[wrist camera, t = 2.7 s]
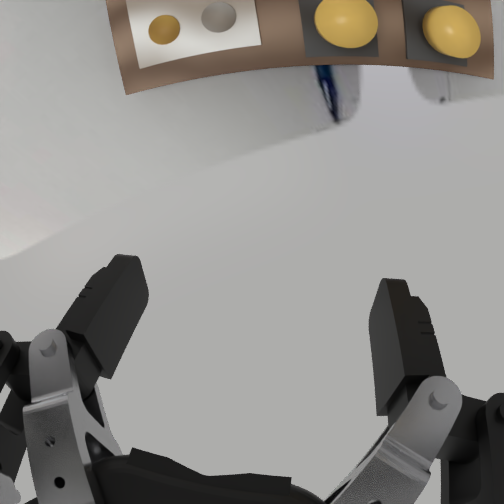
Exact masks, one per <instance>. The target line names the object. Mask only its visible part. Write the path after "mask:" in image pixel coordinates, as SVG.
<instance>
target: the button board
mask: <svg viewBox="0 0 504 504" xmlns="http://www.w3.org/2000/svg"><path fill="white" fill-rule="evenodd" d="M322 1H323V0H106V4H107V10H108V15H109V21H110V26H111V31H112V36H113V40H114V45H115V50H116V54H117V59H118V63H119V68H120V72H121V76H122V81H123V85H124V89H125V93H126V95H129V94H132V93H136V92H140V91H144V90H148V89H152V88H156V87H160V86H164V85H168V84H173V83H178V82H182V81H187V80H192V79H197V78H203V77H208V76H214V75H220V74H227V73H234V72H241V71H249V70H257V69H267V68H277V67H290V66H306V65H339V64H355V65H387V66H403V67H414V68H424V69H433V70H441V71H449V72H455V73H462V74H468V75H473V76H479V77H484V78H489V79H494V43H493V24H492V11H491V2H490V0H366V1H367V2H368V3H369V4H370V5H371V6H372V7H373V9H374V10H375V13H376V15H377V19H378V28H377V32H376V34H375V36H374V38H373V39H372V40H371V41H370V42H369V43H367V44H366V45H363V46H361V47H357V48H345V47H339V46H336V45H333V44H331V43H329V42H327V41H326V40H325V39H324V38H322V37H321V35H320V34H319V33H318V31H317V29H316V27H315V23H314V14H315V11H316V8H317V7H318V5H319V4H320V3H321V2H322ZM449 5H453V6H458V7H460V8H463V9H464V10H466V11H467V12H468V13H469V14H471V16H472V17H473V18H474V19H475V21H476V23H477V25H478V27H479V30H480V35H481V41H480V46H479V48H478V50H477V52H476V53H475V54H474V55H472V56H471V57H468V58H457V57H453V56H449V55H444V54H442V53H440V52H438V51H436V50H435V49H434V48H433V47H432V46H431V45H430V44H429V43H428V41H427V40H426V38H425V35H424V32H423V18H424V16H425V14H426V13H427V11H428V10H430V9H431V8H434V7H438V6H449Z"/></svg>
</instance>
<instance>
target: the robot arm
mask: <svg viewBox="0 0 504 504" xmlns="http://www.w3.org/2000/svg"><path fill="white" fill-rule="evenodd" d="M148 297H149V292H148V287H147V284H146V280H145V276H144V272H143V269H142V265H141V261H140V259H139V258H138V257H137V256H131V255H122V254H117V255H115V256H114V258H113V259H112V260H111V262H110V263H109V265H108V266H107V267H103V268H102V269H100V270H99V271H98V272H97V273H95V274H94V275H93V276H92V277H91V278H90V280H89V281H88V282H87V284H86V285H85V288H84V289H82V291H81V292H80V294H79V297H77V298H76V299H75V301H74V302H73V304H72V305H71V307H70V308H69V310H68V311H67V313H66V314H65V316H64V317H63V319H62V321H61V322H60V324H59V325H58V327H57V328H56V329H49V330H45V331H43V332H41V333H39V334H38V335H37V336H36V337H35V338H34V339H33V340H32V341H31V342H15V341H14V339H13V338H12V336H11V335H10V334H9V333H8V332H6V331H0V393H1V391H2V389H3V387H4V385H5V383H6V384H7V385H8V387H9V388H10V389H11V391H10V394H9V395H8V398H7V400H6V402H5V404H4V406H3V409H2V411H1V413H0V504H17V503H19V502H20V499H21V496H20V494H19V492H18V490H16V489H15V486H14V482H15V479H16V476H17V473H18V470H19V467H20V464H21V461H22V458H23V455H24V453H25V450H26V447H27V451H28V457H29V462H30V467H31V472H32V477H33V482H34V486H35V490H36V494H37V497H36V498H34V499H32V500H30V501H28V502H27V503H25V504H414V502H415V501H416V500H417V498H418V496H419V495H420V494H421V492H422V491H423V489H424V487H425V486H426V484H427V482H428V480H429V478H430V475H431V473H430V471H429V468H430V466H431V464H432V462H433V461H434V459H435V458H437V459H441V504H504V393H497V394H495V395H493V396H492V397H491V398H490V399H489V400H488V401H483V400H478V399H475V398H471V397H467V396H464V395H462V394H461V392H460V390H459V388H458V387H457V385H456V384H455V383H454V382H453V381H451V380H450V379H448V378H446V374H445V370H444V367H443V362H442V358H441V354H440V351H439V346H438V343H437V339H436V336H435V335H434V333H435V332H434V328H433V325H432V324H431V318H430V315H429V312H428V308H427V307H426V306H425V305H424V303H423V302H422V301H421V299H420V298H419V297H415V296H411V295H410V292H409V289H408V285H407V283H406V281H405V280H401V279H387V278H383V279H382V280H381V282H380V285H379V288H378V291H377V294H376V297H375V300H374V303H373V306H372V309H371V312H370V317H369V334H370V343H371V352H372V361H373V372H374V383H375V395H376V411H377V416H388V426H387V427H386V428H385V430H384V431H383V433H382V434H381V435H380V436H379V438H378V439H377V441H376V442H375V443H374V444H373V446H372V447H371V448H370V449H369V451H368V452H367V453H366V455H365V456H364V457H363V458H362V459H361V461H360V462H359V463H358V464H357V465H356V467H355V468H354V469H353V470H352V471H351V472H350V473H349V475H348V476H347V477H346V478H345V479H344V480H343V481H342V482H341V483H340V484H339V485H338V486H337V487H336V488H335V489H334V490H333V491H332V492H331V494H330V495H329V496H328V497H327V498H326V499H325V500H324V501H323V500H321V499H320V498H319V497H317V496H316V495H314V494H313V493H311V492H309V491H308V490H305V489H303V488H301V487H299V486H295V485H292V484H291V477H281V476H269V475H260V474H252V473H247V474H235V475H219V476H206V475H202V474H200V473H198V472H196V471H193V470H191V469H189V468H187V467H185V466H183V465H181V464H179V463H177V462H175V461H173V460H172V459H170V458H167V457H164V456H160V455H156V454H153V453H149V452H146V451H142V450H139V449H136V448H132V449H131V452H130V455H123V454H122V452H121V450H120V448H119V446H118V444H117V442H116V440H115V439H114V437H113V435H112V433H111V431H110V428H109V424H108V421H107V418H106V414H105V411H104V407H103V404H102V400H101V396H100V392H99V388H98V386H97V384H96V382H97V380H98V377H99V376H101V377H104V378H108V379H111V378H112V376H113V374H114V372H115V370H116V367H117V365H118V363H119V361H120V359H121V357H122V354H123V353H124V350H125V348H126V346H127V344H128V342H129V340H130V338H131V336H132V334H133V332H134V330H135V328H136V326H137V324H138V322H139V320H140V318H141V316H142V314H143V312H144V310H145V308H146V306H147V303H148Z"/></svg>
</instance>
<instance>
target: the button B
mask: <svg viewBox="0 0 504 504" xmlns="http://www.w3.org/2000/svg"><path fill="white" fill-rule="evenodd" d="M314 23H315V27H316V29H317V31H318V33H319V34H320V35H321V37H322V38H324V39H325V40H326V41H327V42H329V43H331V44H333V45H336V46H339V47H345V48H357V47H361V46H363V45H366V44H367V43H369V42H370V41H371V40H372V39H373V38H374V36H375V34H376V32H377V28H378V19H377V15H376V13H375V10H374V9H373V7H372V6H371V5H370V4H369V3H368V2H367V1H366V0H323V1H322V2H321V3H320V4H319V5H318V7H317V8H316V11H315V14H314Z"/></svg>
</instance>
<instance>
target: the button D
mask: <svg viewBox="0 0 504 504" xmlns="http://www.w3.org/2000/svg"><path fill="white" fill-rule="evenodd" d="M423 32H424V35H425V38H426V40H427V41H428V43H429V44H430V45H431V46H432V47H433V48H434V49H435V50H436V51H438V52H440V53H442V54H444V55H449V56H453V57H457V58H468V57H471V56H472V55H474V54H475V53H476V52H477V50H478V48H479V46H480V41H481V35H480V30H479V27H478V25H477V23H476V21H475V19H474V18H473V17H472V16H471V14H469V13H468V12H467V11H466V10H464V9H463V8H460V7H458V6H453V5H449V6H438V7H434V8H431V9H430V10H428V11H427V13H426V14H425V16H424V18H423Z"/></svg>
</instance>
